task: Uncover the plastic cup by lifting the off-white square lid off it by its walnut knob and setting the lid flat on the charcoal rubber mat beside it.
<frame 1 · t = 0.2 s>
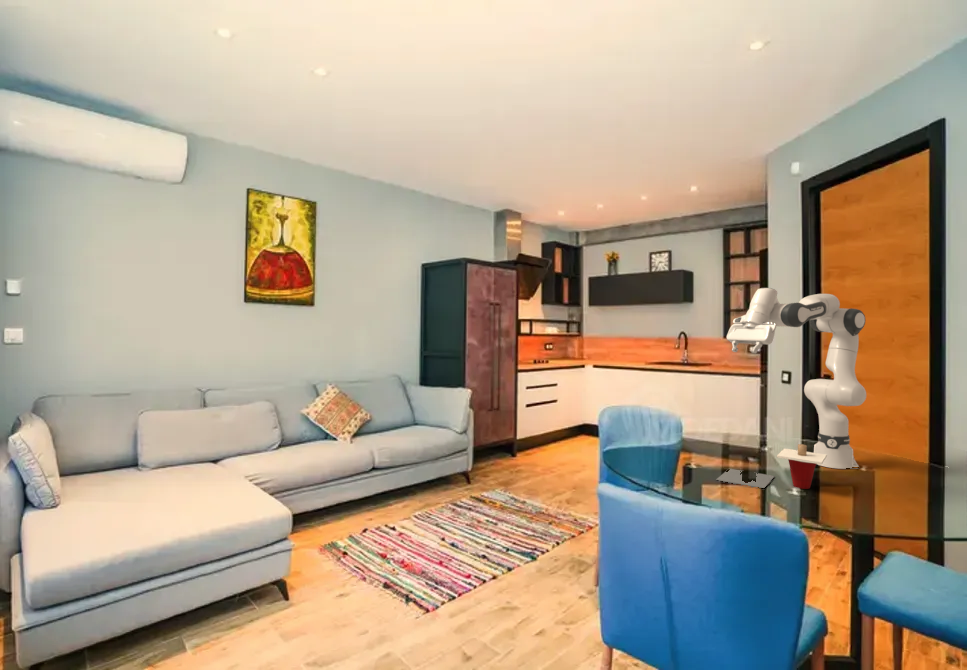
hand: (743, 352, 214), 54 cm above the table, tool tilted 30°, fingers open, 8 cm apart
lid: (801, 457, 206), point 12 cm above the table, touching plastic cup
plastic cup: (802, 487, 207), on the table, touching lid
mat: (745, 479, 217), on the table
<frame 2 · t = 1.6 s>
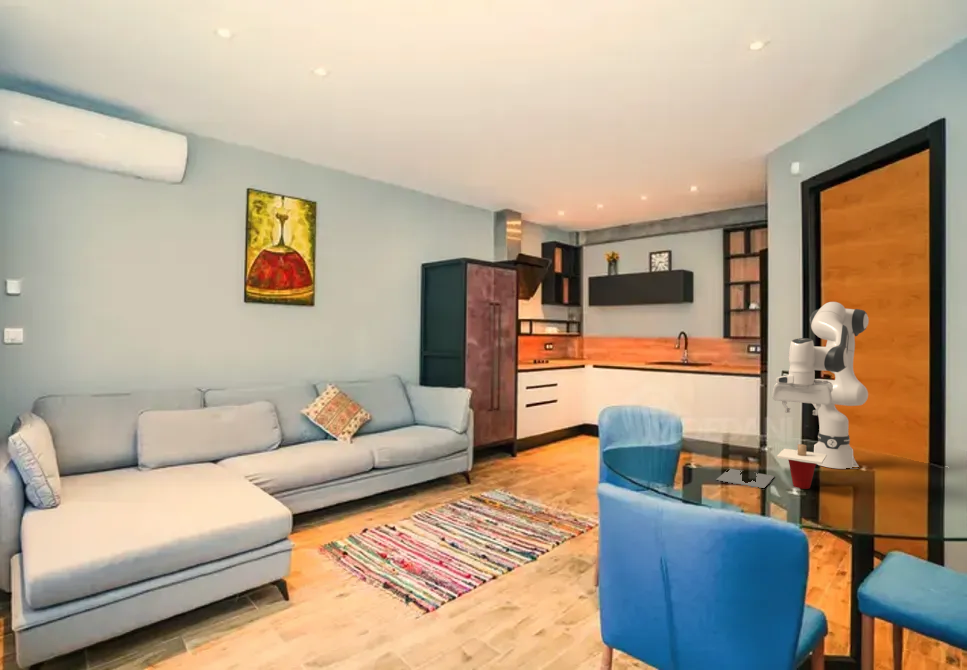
hand: (801, 413, 206), 29 cm above the table, tool pointing down, fingers open, 8 cm apart
nothing on the table moved.
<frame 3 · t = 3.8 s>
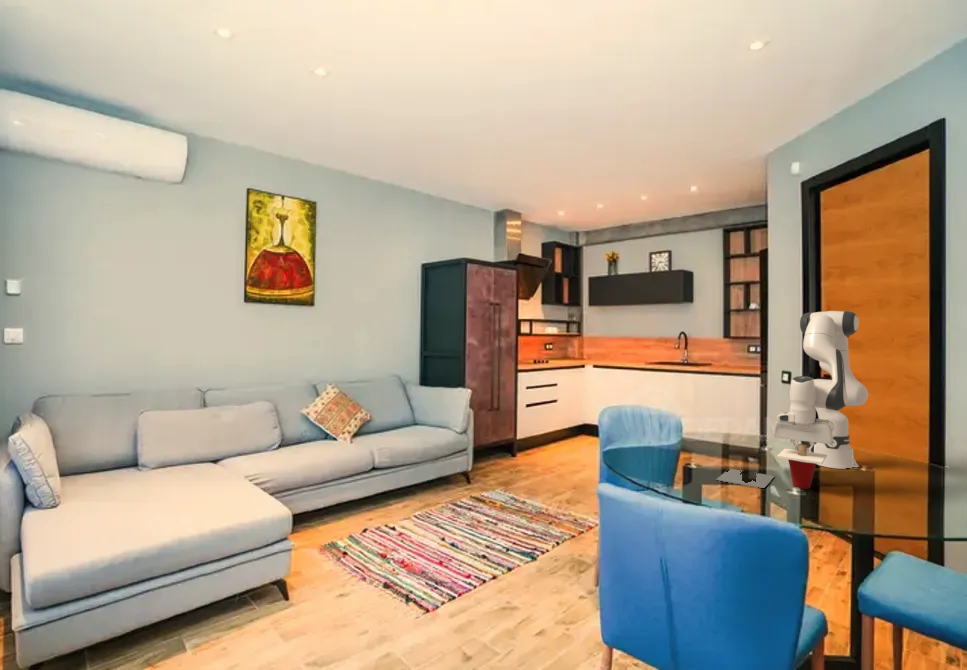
hand: (802, 451, 206), 14 cm above the table, tool pointing down, fingers closed on lid, 3 cm apart
lid: (802, 457, 206), point 12 cm above the table, touching gripper, plastic cup
everything else where it was.
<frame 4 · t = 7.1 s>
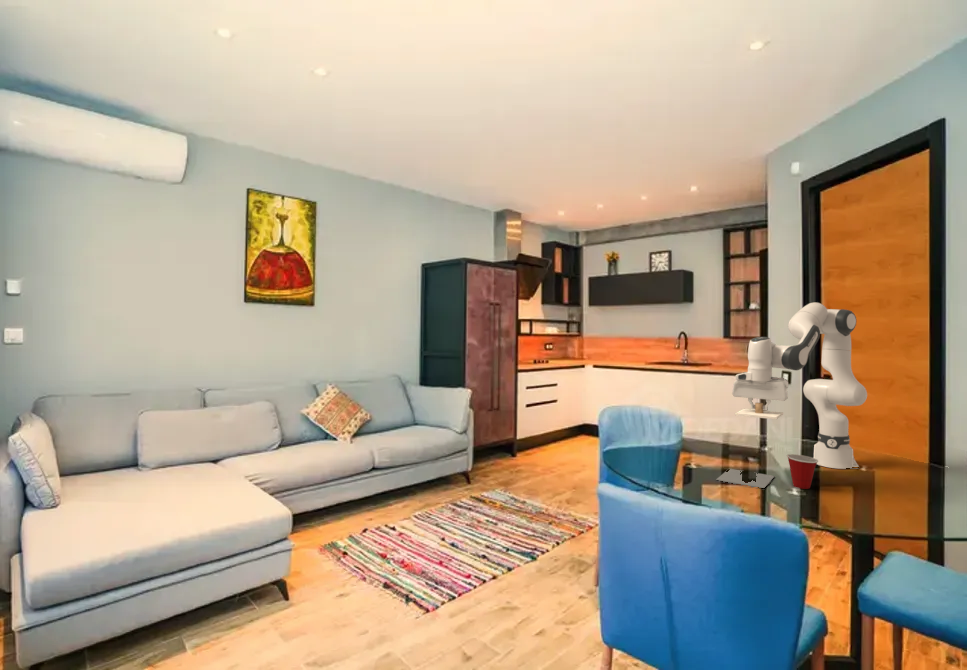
hand: (759, 409, 213), 30 cm above the table, tool pointing down, fingers closed on lid, 3 cm apart
lid: (759, 414, 213), point 28 cm above the table, touching gripper
plastic cup: (802, 487, 207), on the table
when the fingers open (4 cm above the table, at t = 10.7 s): lid drops 1 cm, resting on mat.
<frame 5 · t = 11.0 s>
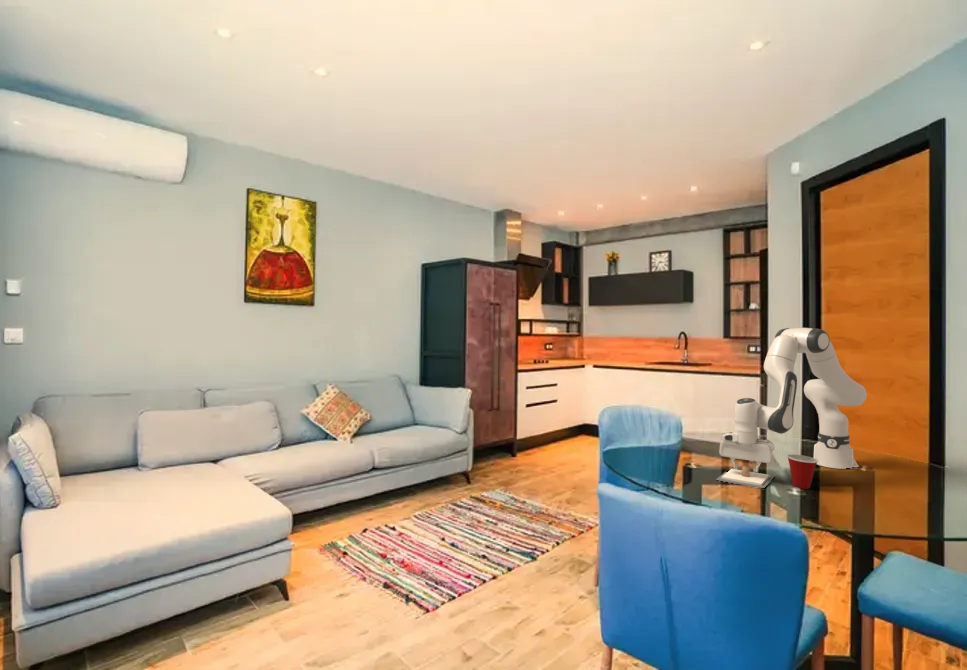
hand: (745, 469, 217), 4 cm above the table, tool pointing down, fingers open, 6 cm apart
lid: (745, 477, 217), point 1 cm above the table, touching mat
everything else where it was.
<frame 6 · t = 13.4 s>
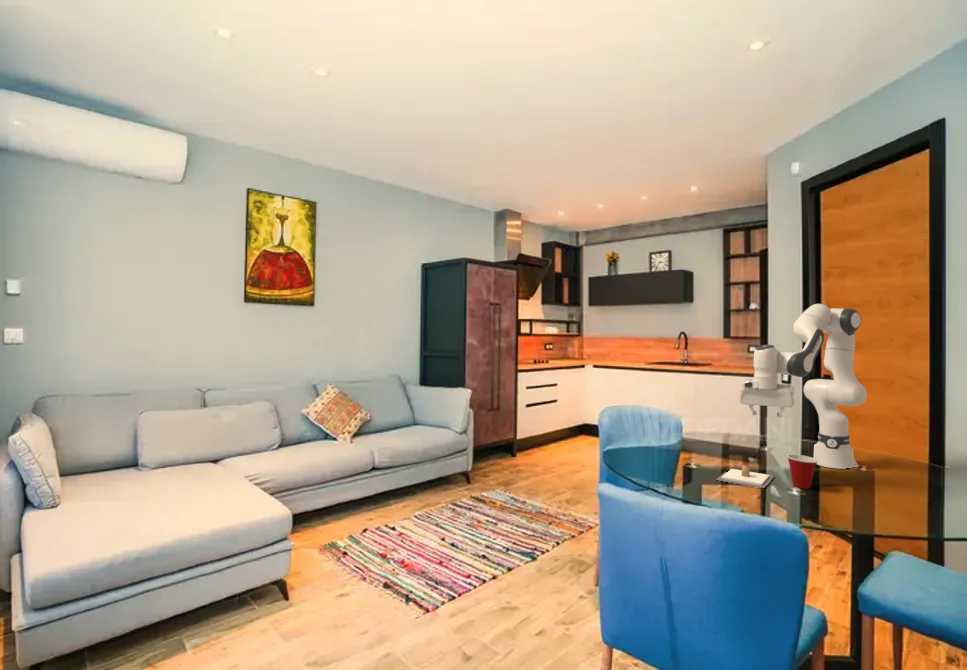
hand: (766, 416, 218), 26 cm above the table, tool pointing down, fingers open, 8 cm apart
nothing on the table moved.
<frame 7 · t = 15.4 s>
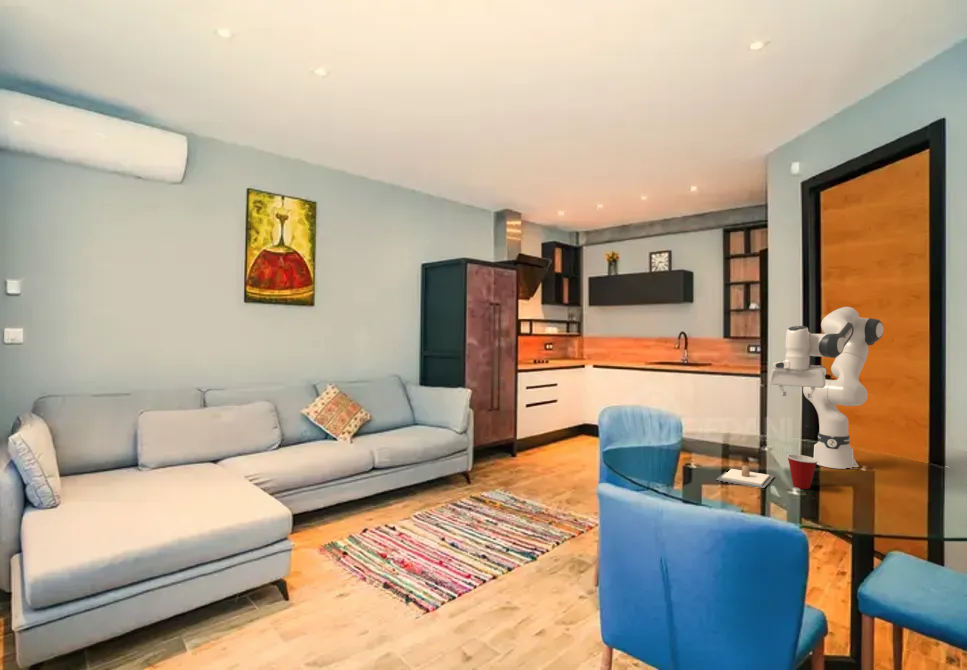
hand: (796, 396, 219), 34 cm above the table, tool pointing down, fingers open, 8 cm apart
nothing on the table moved.
at the end: lid inside the target area on the mat (0.1 cm from its centre), point 0.6 cm above the mat's base; lid tilted 0°; plastic cup moved 0.2 cm from its start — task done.
